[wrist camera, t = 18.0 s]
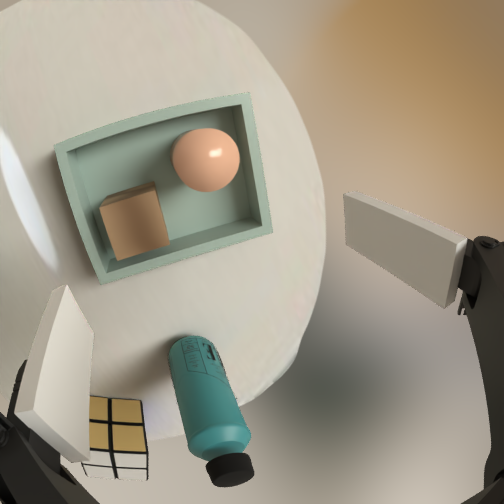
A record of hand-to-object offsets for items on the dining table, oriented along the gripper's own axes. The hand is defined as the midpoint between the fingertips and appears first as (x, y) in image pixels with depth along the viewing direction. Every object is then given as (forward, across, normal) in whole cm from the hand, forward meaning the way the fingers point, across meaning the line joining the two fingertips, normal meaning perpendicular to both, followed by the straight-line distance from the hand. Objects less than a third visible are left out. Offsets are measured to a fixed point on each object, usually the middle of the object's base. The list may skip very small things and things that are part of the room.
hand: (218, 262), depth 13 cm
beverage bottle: (+19, -4, -20) cm, 28 cm away
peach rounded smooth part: (+18, +3, +2) cm, 19 cm away
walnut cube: (+18, -4, -2) cm, 19 cm away
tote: (+19, -1, 0) cm, 19 cm away
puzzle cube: (+20, -21, -30) cm, 42 cm away
